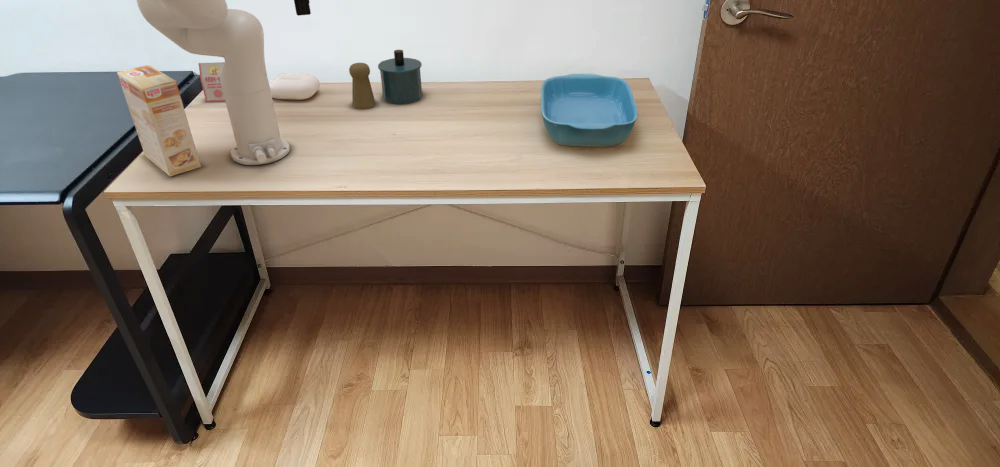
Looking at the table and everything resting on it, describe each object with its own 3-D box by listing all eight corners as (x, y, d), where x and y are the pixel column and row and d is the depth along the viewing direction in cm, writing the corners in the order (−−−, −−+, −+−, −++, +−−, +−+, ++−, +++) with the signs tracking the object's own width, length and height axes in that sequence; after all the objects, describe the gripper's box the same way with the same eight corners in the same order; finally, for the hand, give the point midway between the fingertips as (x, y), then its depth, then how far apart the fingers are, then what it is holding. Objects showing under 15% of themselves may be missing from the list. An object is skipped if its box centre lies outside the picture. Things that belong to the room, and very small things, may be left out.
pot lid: (428, 71, 168) (427, 53, 165) (387, 78, 163) (385, 60, 161) (411, 59, 176) (410, 42, 174) (372, 66, 172) (370, 48, 169)
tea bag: (210, 96, 175) (200, 60, 170) (235, 96, 176) (226, 60, 170) (206, 102, 172) (196, 65, 167) (232, 101, 173) (223, 64, 167)
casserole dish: (540, 96, 174) (541, 70, 170) (623, 97, 173) (626, 71, 169) (539, 156, 143) (540, 126, 139) (640, 158, 142) (644, 128, 138)
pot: (428, 99, 172) (426, 68, 168) (391, 107, 168) (388, 75, 163) (413, 87, 180) (410, 57, 175) (377, 94, 176) (374, 64, 171)
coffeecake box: (202, 167, 140) (177, 80, 129) (169, 177, 136) (140, 89, 125) (175, 146, 149) (150, 63, 138) (143, 155, 145) (114, 71, 134)
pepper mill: (347, 106, 168) (341, 65, 162) (362, 99, 173) (356, 58, 167) (366, 110, 166) (360, 69, 160) (380, 102, 171) (375, 62, 165)
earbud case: (279, 88, 180) (275, 69, 177) (324, 89, 179) (321, 70, 176) (264, 102, 172) (260, 82, 169) (311, 103, 171) (308, 83, 168)
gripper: (307, -64, 138) (321, 17, 148) (305, -76, 152) (318, -1, 161) (271, -62, 136) (287, 20, 146) (272, -74, 150) (287, 1, 160)
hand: (303, 9), depth 154 cm, fingers open, 9 cm apart
